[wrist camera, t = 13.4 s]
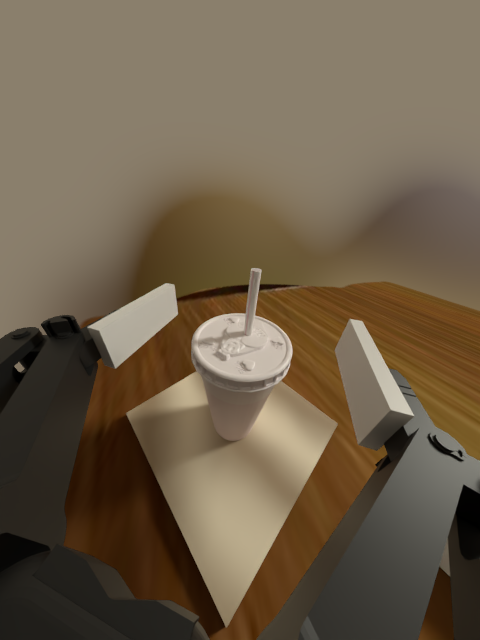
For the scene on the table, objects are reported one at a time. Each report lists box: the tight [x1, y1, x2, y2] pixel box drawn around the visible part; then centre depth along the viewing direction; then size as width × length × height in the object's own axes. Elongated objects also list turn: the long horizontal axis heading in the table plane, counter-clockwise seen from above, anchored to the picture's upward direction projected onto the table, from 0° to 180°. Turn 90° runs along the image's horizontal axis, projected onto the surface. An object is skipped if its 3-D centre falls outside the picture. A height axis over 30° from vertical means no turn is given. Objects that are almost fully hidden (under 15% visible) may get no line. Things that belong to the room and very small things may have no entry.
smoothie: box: [191, 268, 292, 441], centre depth 13 cm, size 6×6×14 cm
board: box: [126, 371, 338, 628], centre depth 17 cm, size 14×14×1 cm
